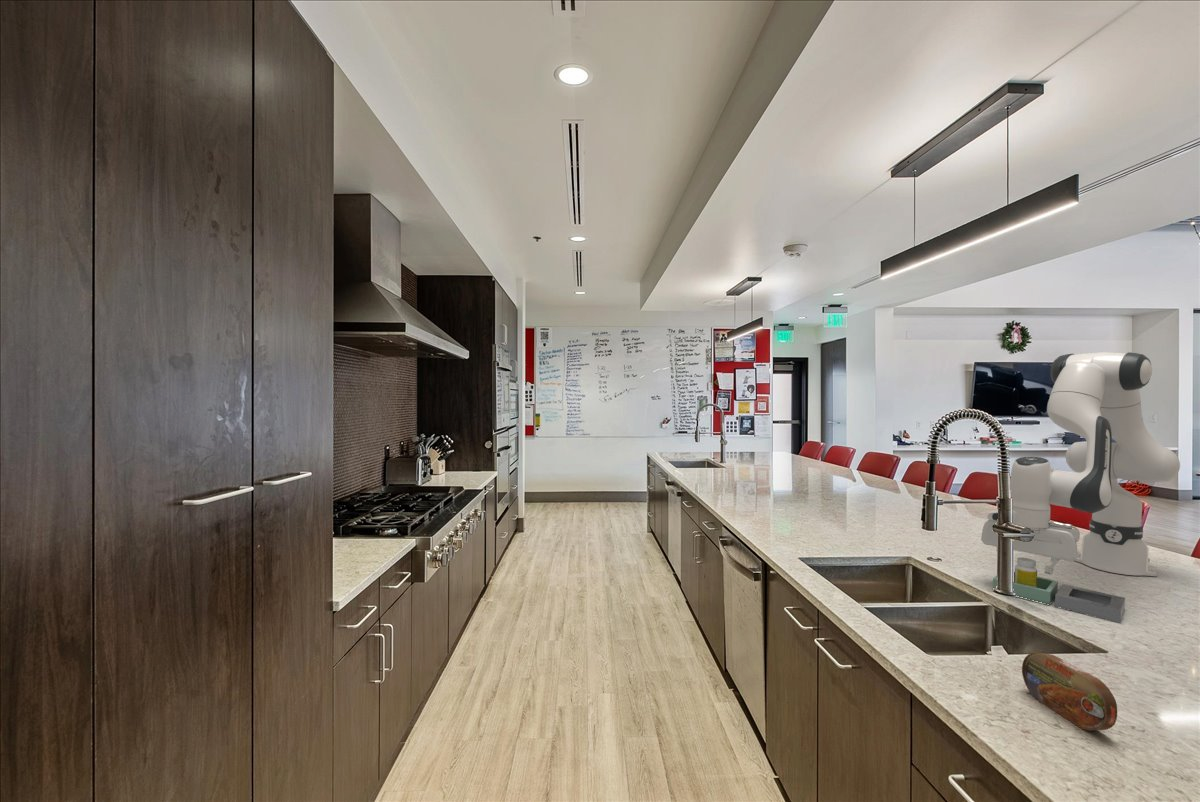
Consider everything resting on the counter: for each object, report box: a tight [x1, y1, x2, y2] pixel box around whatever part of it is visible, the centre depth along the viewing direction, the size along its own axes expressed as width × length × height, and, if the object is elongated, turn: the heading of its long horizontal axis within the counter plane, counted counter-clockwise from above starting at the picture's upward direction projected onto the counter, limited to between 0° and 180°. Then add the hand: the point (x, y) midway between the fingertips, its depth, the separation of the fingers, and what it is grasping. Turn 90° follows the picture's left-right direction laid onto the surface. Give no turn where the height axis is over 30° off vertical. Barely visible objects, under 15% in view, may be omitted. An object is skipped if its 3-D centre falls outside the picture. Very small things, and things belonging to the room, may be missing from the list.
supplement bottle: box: [1014, 557, 1038, 588], centre depth 146 cm, size 5×5×8 cm
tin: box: [1021, 652, 1118, 732], centre depth 92 cm, size 15×3×8 cm, turn 5°
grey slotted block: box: [1054, 583, 1126, 624], centre depth 137 cm, size 12×12×3 cm
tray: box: [992, 571, 1059, 606], centre depth 146 cm, size 12×12×4 cm
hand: (1026, 568), depth 146 cm, fingers open, 8 cm apart
